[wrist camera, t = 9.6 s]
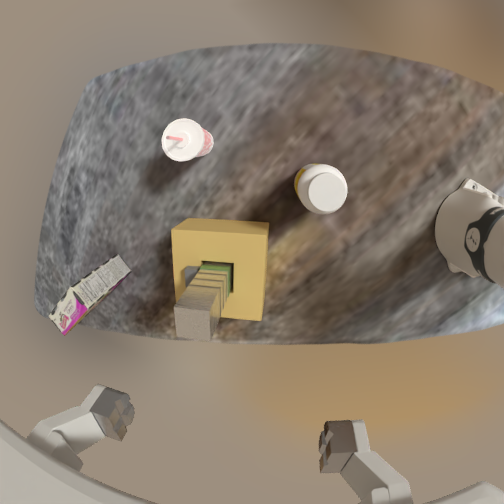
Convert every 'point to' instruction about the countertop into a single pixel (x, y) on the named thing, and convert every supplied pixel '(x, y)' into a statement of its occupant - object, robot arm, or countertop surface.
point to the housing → (224, 260)
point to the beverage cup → (186, 140)
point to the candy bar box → (88, 293)
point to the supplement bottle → (320, 188)
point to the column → (204, 301)
